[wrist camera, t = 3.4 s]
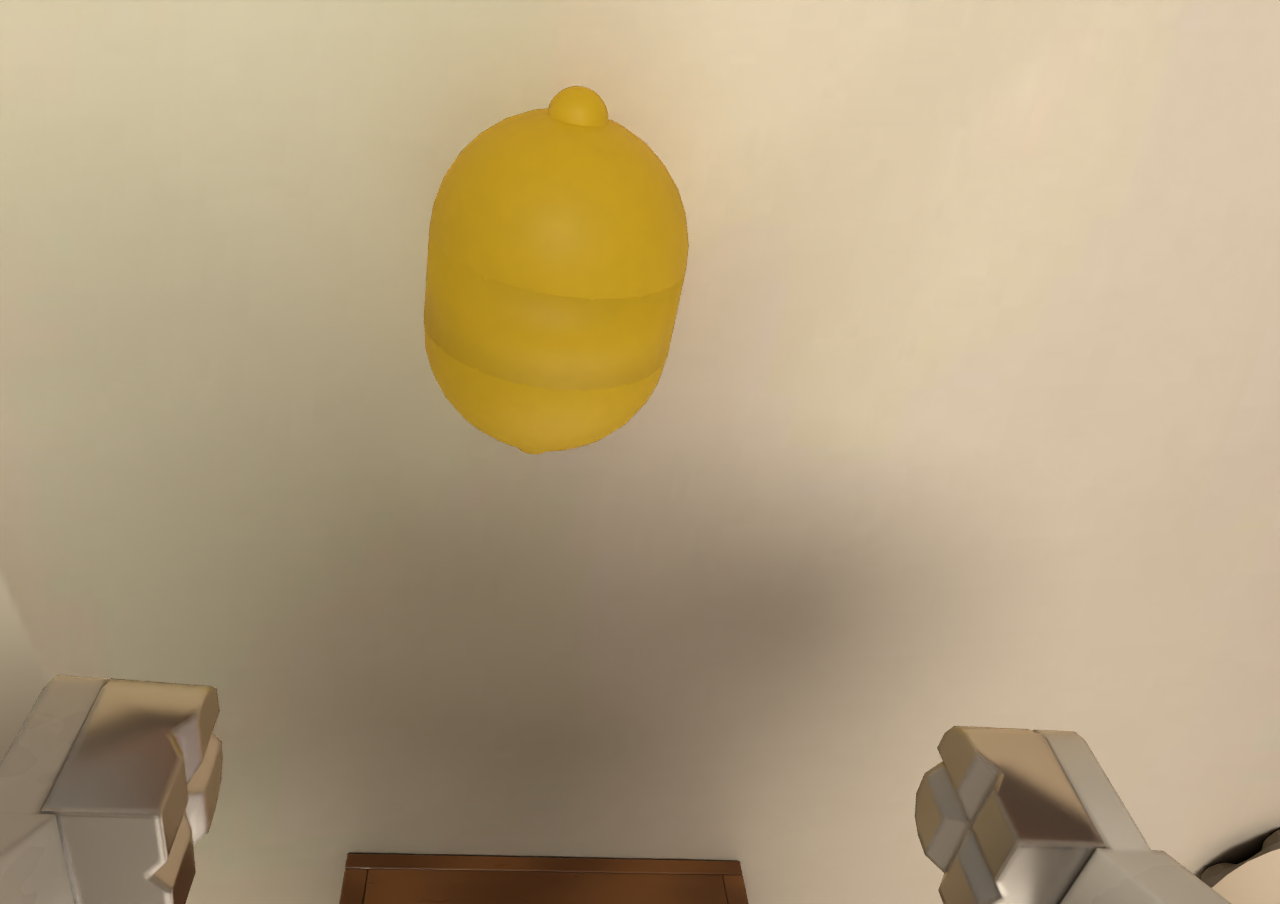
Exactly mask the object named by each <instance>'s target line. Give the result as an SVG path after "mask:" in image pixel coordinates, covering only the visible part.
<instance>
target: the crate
mask: <svg viewBox="0 0 1280 904" xmlns="http://www.w3.org/2000/svg"><path fill="white" fill-rule="evenodd" d="M339 904H748V899H747V894H746V889H745V884H744V879H743V876H742V870H741V865H740V862H739V861H702V860H651V859H600V858H550V857H499V856H448V855H397V854H348V855H347V860H346V866H345V872H344V878H343V884H342V890H341V896H340V902H339Z"/></svg>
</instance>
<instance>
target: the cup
mask: <svg viewBox="0 0 1280 904" xmlns="http://www.w3.org/2000/svg"><path fill="white" fill-rule="evenodd" d="M1201 881H1203V882H1204V883H1205V884H1207V885H1208V886H1209V887H1211V888H1212V889H1213V890H1214V891H1216V892H1217V893H1218V894H1220V895H1221V896H1222V897H1223V898H1225V899H1226V900H1227V901H1229V902H1230V903H1231V904H1280V830H1278V831H1275V832H1274V833H1273V834H1271V835H1270V836H1268V837H1267V838H1266V840H1265V841H1264V842H1263V846H1262V851H1260V852H1259V853H1257V854H1256V855H1254V856H1253V857H1251V858H1250V859H1248V860H1246V861H1244V862H1242V863H1239V864H1237V865H1235V864H1231V863H1220V864H1216V865H1214V866H1211V867H1208V868H1207V869H1206V870H1205V871H1204V872H1203V874H1202V875H1201Z"/></svg>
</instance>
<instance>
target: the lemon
mask: <svg viewBox="0 0 1280 904" xmlns="http://www.w3.org/2000/svg"><path fill="white" fill-rule="evenodd" d="M688 247H689V244H688V233H687V223H686V215H685V210H684V207H683V204H682V201H681V197H680V194H679V191H678V188H677V187H676V185H675V183H674V181H673V179H672V178H671V176H670V174H669V172H668V170H667V169H666V167H665V165H664V164H663V162H662V161H661V160H660V159H659V158H658V157H657V155H656V154H655V153H654V152H653V151H652V150H651V149H650V147H649V146H648V145H647V144H646V143H645V142H644V141H642V140H641V139H640V138H638V137H637V136H636V135H634V134H633V133H632V132H630V131H629V130H628V129H626V128H625V127H623V126H622V125H620V124H618V123H616V122H614V121H612V120H609V119H608V112H607V108H606V106H605V104H604V102H603V100H602V99H601V98H600V96H599V95H598V94H597V93H595V92H594V91H592V90H590V89H588V88H586V87H581V86H573V87H569V88H566V89H564V90H562V91H561V92H559V93H558V94H557V95H556V96H555V97H554V98H553V100H552V101H551V103H550V105H549V108H548V109H536V110H532V111H528V112H525V113H522V114H518V115H515V116H512V117H509V118H506V119H504V120H502V121H501V122H499V123H497V124H495V125H494V126H492V127H490V128H489V129H487V130H485V131H484V132H482V133H481V134H479V135H478V136H477V137H476V138H475V139H474V140H473V141H472V142H471V143H470V144H469V145H467V146H466V147H465V148H464V149H463V150H462V151H461V152H460V154H459V155H458V157H457V158H456V160H455V161H454V163H453V164H452V166H451V167H450V169H449V170H448V171H447V173H446V175H445V177H444V179H443V181H442V183H441V186H440V188H439V191H438V193H437V196H436V198H435V201H434V205H433V211H432V216H431V222H430V230H429V246H428V261H427V277H426V292H425V308H424V327H425V348H426V352H427V355H428V359H429V362H430V366H431V369H432V371H433V374H434V376H435V378H436V380H437V382H438V384H439V386H440V387H441V389H442V391H443V393H444V395H445V397H446V398H447V399H448V400H449V402H450V403H451V404H452V405H453V406H454V407H455V408H456V410H457V411H458V412H459V413H460V414H461V415H462V416H463V417H464V418H465V419H466V420H467V421H468V422H469V423H471V424H472V425H473V426H475V427H476V428H477V429H479V430H481V431H482V432H484V433H486V434H487V435H489V436H491V437H493V438H495V439H497V440H498V441H501V442H503V443H506V444H508V445H511V446H515V447H517V448H519V449H520V450H521V451H523V452H526V453H529V454H540V453H544V452H546V451H561V450H567V449H572V448H576V447H580V446H584V445H588V444H590V443H593V442H596V441H598V440H601V439H602V438H604V437H605V436H607V435H609V434H610V433H612V432H614V431H615V430H617V429H618V428H620V427H622V426H623V425H625V424H626V423H627V422H628V421H629V420H630V419H631V418H632V417H633V416H634V415H635V414H636V412H637V411H638V410H639V409H640V408H641V407H642V406H643V405H644V404H645V403H646V402H647V400H648V399H649V397H650V395H651V394H652V392H653V390H654V389H655V387H656V385H657V383H658V381H659V378H660V376H661V373H662V370H663V367H664V364H665V361H666V358H667V356H668V351H669V346H670V342H671V337H672V332H673V328H674V323H675V318H676V314H677V309H678V304H679V300H680V295H681V290H682V286H683V281H684V276H685V271H686V265H687V256H688Z"/></svg>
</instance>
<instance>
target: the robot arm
mask: <svg viewBox="0 0 1280 904" xmlns="http://www.w3.org/2000/svg"><path fill="white" fill-rule="evenodd" d="M219 712H220V710H219V701H218V692H217V689H216V688H214V687H212V686H201V685H189V684H176V683H163V682H151V681H138V680H125V679H113V678H111V679H103V678H90V677H76V676H63V675H57V676H56V677H55V678H54V679H53V680H52V681H51V682H49V683H48V684H47V685H46V686H45V687H44V688H43V690H42V692H41V694H40V695H39V697H38V699H37V701H36V702H35V704H34V706H33V708H32V709H31V711H30V713H29V715H28V716H27V718H26V720H25V722H24V723H23V725H22V727H21V729H20V730H19V732H18V734H17V736H16V737H15V739H14V741H13V743H12V745H11V746H10V748H9V750H8V751H7V753H6V755H5V757H4V759H3V760H2V762H1V764H0V904H185V903H186V900H187V897H188V894H189V891H190V888H191V885H192V881H193V878H194V875H195V872H196V871H195V860H194V849H193V845H194V844H195V843H197V842H198V841H199V840H200V839H201V838H203V837H204V836H205V835H206V834H207V833H208V832H209V829H210V825H211V822H212V819H213V816H214V812H215V809H216V805H217V799H218V794H219V789H220V784H221V778H222V762H223V753H222V741H221V740H220V739H219V738H218V737H217V736H216V735H215V734H214V733H213V729H214V726H215V724H216V721H217V718H218V715H219ZM937 748H938V751H939V753H940V755H941V758H942V760H943V761H942V762H941V763H939V764H938V765H936V766H935V767H933V768H932V769H930V770H929V771H928V772H926V773H925V774H924V776H923V779H922V781H921V783H920V786H919V788H918V790H917V793H916V805H915V820H916V826H917V832H918V836H919V839H920V842H921V845H922V848H923V850H924V853H925V855H926V856H927V857H928V858H929V859H930V860H931V861H932V862H933V863H934V864H935V865H936V866H937V867H939V868H940V869H941V870H942V871H943V872H944V875H943V878H942V881H941V884H940V887H939V890H938V891H939V893H940V896H941V898H942V901H943V904H1231V903H1230V902H1229V901H1227V900H1226V899H1225V898H1223V897H1222V896H1221V895H1220V894H1218V893H1217V892H1216V891H1214V890H1213V889H1212V888H1211V887H1209V886H1208V885H1207V884H1205V883H1204V882H1203V881H1201V880H1200V879H1199V878H1198V877H1196V876H1195V875H1194V874H1192V873H1191V872H1190V871H1189V870H1187V869H1186V868H1185V867H1183V866H1182V865H1181V864H1180V863H1178V862H1177V861H1176V860H1174V859H1173V858H1172V857H1170V856H1169V855H1168V854H1167V853H1165V852H1164V851H1157V850H1151V849H1150V847H1149V846H1148V844H1147V842H1146V841H1145V839H1144V837H1143V836H1142V834H1141V832H1140V831H1139V829H1138V827H1137V826H1136V824H1135V822H1134V821H1133V819H1132V817H1131V816H1130V814H1129V812H1128V811H1127V809H1126V807H1125V806H1124V804H1123V802H1122V801H1121V799H1120V797H1119V796H1118V794H1117V792H1116V791H1115V789H1114V787H1113V786H1112V784H1111V782H1110V781H1109V779H1108V777H1107V776H1106V774H1105V773H1104V771H1103V769H1102V768H1101V766H1100V764H1099V763H1098V761H1097V759H1096V758H1095V756H1094V754H1093V753H1092V751H1091V749H1090V748H1089V746H1088V744H1087V743H1086V741H1085V740H1084V739H1083V738H1082V737H1081V736H1079V735H1078V734H1077V733H1076V732H1072V731H1051V730H1029V729H1015V728H991V727H968V726H954V727H952V728H951V729H949V730H948V731H947V732H945V734H944V735H943V737H942V739H941V741H940V743H939V745H938V747H937Z"/></svg>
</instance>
